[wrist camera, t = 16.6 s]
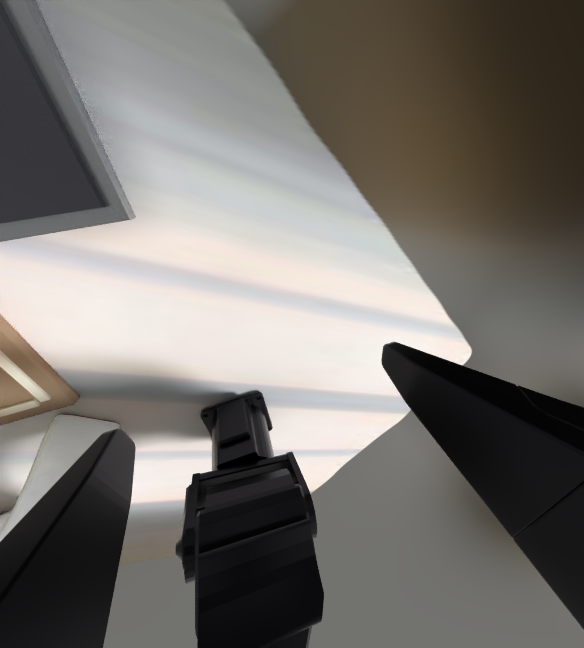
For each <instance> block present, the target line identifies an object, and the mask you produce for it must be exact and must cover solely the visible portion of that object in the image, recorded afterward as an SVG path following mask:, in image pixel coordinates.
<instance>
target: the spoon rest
mask: <svg viewBox="0 0 584 648" xmlns="http://www.w3.org/2000/svg"><path fill="white" fill-rule="evenodd" d="M116 428H120V425H119V424H117V423H114V422H109V421H103V420H97V419H91V418H86V417H80V416H73V415H57V416H55V417H54V419H53V420H52V422H51V424H50V426H49V428H48V430H47V432H46V434H45V436H44V438H43V441H42V443H41V445H40V448H39V450H38V453H37V455H36V458H35V460H34V463H33V465H32V468H31V470H30V473H29V475H28V478H27V480H26V482H25V485H24V487H23V489H22V491H21V493H20V495H19V498H18V500H17V502H16V504H15V506H14V508H13V509H12V510H11V511H8V512H6V513H4V514H2V515H0V541H1V540H2V539H3V538H4V537H5V536H6V535H7V534H8V533H9V532H10V531H11V530H12V529H13V528H14V526H15V525H16V524H17V523H18V522H19V521H20V520H21V519H22V518H23V517H24V516H25V515H26V514H27V513H28V512H29V511H30V510H31V508H32V507H33V506H34V505H35V504H36V503H37V502H38V501H39V500H40V499H41V498H42V497H43V496H44V495H45V494H46V493H47V491H48V490H49V489H50V488H51V487H52V486H53V485H54V484H55V483H56V482H57V481H58V480H59V479H60V478H61V477H62V476H63V474H64V473H65V472H66V471H67V470H68V469H69V468H70V467H71V466H72V465H73V464H74V463H75V462H76V461H77V460H78V459H79V457H80V456H81V455H82V454H83V453H84V452H85V451H86V450H87V449H88V448H89V447H90V446H91V445H92V444H93V443H94V442H95V440H96V439H97V438H98V437H99V436H100V435H101V434H102V433H104V432H106V431H110V430H113V429H116Z"/></svg>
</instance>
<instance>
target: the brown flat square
mask: <svg viewBox="0 0 584 648" xmlns="http://www.w3.org/2000/svg"><path fill="white" fill-rule="evenodd" d="M78 398H79V395H78V394H77V393H76V392H75V391H74V390H73V389H72V388H71V387H70V386H69V385H68V384H67V383H66V382H65V381H64V380H63V379H62V378H61V377H60V376H59V375H58V374H57V373H56V372H55V371H54V369H53V368H52V367H51V366H50V365H49V364H48V363H47V362H46V361H45V360H44V359H43V358H42V357H41V356H40V355H39V354H38V353H37V352H36V351H35V350H34V349H33V348H32V347H31V346H30V345H29V344H28V343H27V342H26V341H25V340H24V339H23V338H22V337H21V335H20V334H19V333H18V332H17V331H16V330H15V329H14V328H13V327H12V326H11V325H10V324H9V323H8V322H7V321H6V320H5V319H4V318H3V317H2V316H1V315H0V425H3V424H7V423H10V422H14V421H17V420H21V419H24V418H28V417H31V416H35V415H38V414H41V413H45V412H48V411H52V410H55V409H59V408H62V407H66V406H69V405H73V404H75V403H76V401H77V400H78Z"/></svg>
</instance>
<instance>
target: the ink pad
mask: <svg viewBox="0 0 584 648" xmlns="http://www.w3.org/2000/svg"><path fill="white" fill-rule="evenodd" d="M133 218H135V215H134V213H133V211H132V208H131V206H130V204H129V202H128V200H127V198H126V195H125V193H124V191H123V189H122V187H121V185H120V183H119V180H118V178H117V176H116V174H115V172H114V170H113V167H112V165H111V163H110V161H109V159H108V157H107V155H106V152H105V150H104V148H103V146H102V144H101V142H100V139H99V137H98V135H97V133H96V131H95V129H94V126H93V124H92V122H91V120H90V118H89V116H88V114H87V111H86V109H85V107H84V105H83V103H82V101H81V98H80V96H79V94H78V92H77V90H76V88H75V86H74V83H73V81H72V79H71V77H70V75H69V73H68V70H67V68H66V66H65V64H64V62H63V60H62V58H61V55H60V53H59V51H58V49H57V47H56V45H55V42H54V40H53V38H52V36H51V34H50V32H49V30H48V27H47V25H46V23H45V21H44V19H43V17H42V14H41V12H40V10H39V8H38V6H37V4H36V1H35V0H0V242H2V241H8V240H14V239H19V238H25V237H31V236H37V235H43V234H49V233H55V232H61V231H66V230H72V229H78V228H84V227H90V226H96V225H102V224H108V223H114V222H119V221H125V220H130V219H133Z"/></svg>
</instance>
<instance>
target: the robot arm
mask: <svg viewBox="0 0 584 648" xmlns="http://www.w3.org/2000/svg"><path fill="white" fill-rule="evenodd" d="M382 366H383V368H384V369H385V371H386V372H387V374H388V376H389V377H390V379H391V380H392V382H393V383H394V385H395V387H396V388H397V390H398V391H399V393H400V395H401V396H402V398H403V399H404V401H405V402H406V403H407V405H408V406H409V407H410V409H411V410H412V411H413V412H414V414H415V415H416V416H417V417H418V419H419V420H420V421H421V423H422V424H423V425H424V426H425V428H426V429H427V430H428V431H429V433H430V434H431V435H432V437H433V438H434V439H435V440H436V442H437V443H438V444H439V445H440V447H441V448H442V449H443V451H444V452H445V453H446V454H447V456H448V457H449V458H450V460H451V461H452V462H453V463H454V465H455V466H456V467H457V468H458V470H459V471H460V472H461V474H462V475H463V476H464V477H465V479H466V480H467V481H468V482H469V483H470V485H471V486H472V487H473V489H474V490H475V491H476V493H477V494H478V495H479V496H480V498H481V499H482V500H483V502H484V503H485V504H486V505H487V507H488V508H489V509H490V510H491V512H492V513H493V514H494V516H495V517H496V518H497V519H498V521H499V522H500V523H501V524H502V526H503V527H504V528H505V530H506V531H507V532H508V533H509V535H510V536H511V537H512V538H513V540H514V541H515V543H516V544H517V545H518V546H519V548H520V549H521V550H522V551H523V553H524V554H525V555H526V557H527V558H528V559H529V560H530V562H531V563H532V564H533V566H534V567H535V568H536V569H537V570H538V572H539V573H540V574H541V576H542V577H543V578H544V579H545V581H546V582H547V583H548V584H549V586H550V587H551V588H552V590H553V591H554V592H555V594H556V595H557V596H558V597H559V599H560V600H561V601H562V602H563V604H564V605H565V606H566V608H567V609H568V610H569V611H570V613H571V614H572V615H573V616H574V618H575V619H576V620H577V621H578V623H579V624H580V625H581V627H582V628H583V629H584V407H581V406H578V405H575V404H571V403H568V402H565V401H561V400H559V399H556V398H553V397H550V396H547V395H544V394H541V393H538V392H535V391H533V390H530V389H527V388H524V387H521V386H516V385H515V384H513V383H510V382H507V381H504V380H501V379H499V378H496V377H493V376H490V375H487V374H484V373H482V372H479V371H476V370H473V369H470V368H467V367H465V366H462V365H459V364H456V363H454V362H451V361H448V360H445V359H442V358H439V357H437V356H434V355H431V354H428V353H425V352H423V351H420V350H417V349H414V348H411V347H408V346H406V345H403V344H400V343H397V342H391V343H388V344H385V345H384V346H383V352H382ZM201 418H202V420H203V422H204V424H205V425H206V427H207V429H208V431H209V432H210V434H211V436H212V471H210V472H206V473H202V474H200V473H196V474H193V477H192V484H191V485H189V487H188V488H186V499H185V508H184V514H183V518H182V522H181V527H180V531H179V535H178V539H177V543H176V555H177V556H178V557H179V558H180V559H181V560H182V564H183V569H184V575H185V582H186V584H189V583H192V582H194V581H195V630H196V636H197V639H198V648H308V645H309V639H310V634H311V628H312V626H313V625H315V624H317V623H319V622H321V619H322V613H323V600H324V592H323V587H322V583H321V579H320V574H319V570H318V566H317V560H316V554H315V549H314V542H313V539H314V538H316V535H317V523H316V515H315V510H314V506H313V501H312V498H311V495H310V492H309V489H308V487H307V484H306V482H305V480H304V478H303V475H302V473H301V471H300V468H299V466H298V464H297V462H296V459H295V457H294V455H293V452H288V453H286V454H284V455H280V456H275V457H274V454H273V449H272V445H271V440H270V436H269V431H270V430H272V424H271V420H270V417H269V414H268V411H267V407H266V404H265V401H264V397H263V394H262V393H261V392H258V393H254V394H251V395H248V396H245V397H242V398H239V399H235V400H232V401H229V402H226V403H223V404H220V405H217V406H214V407H210V408H207V409H204V410H202V411H201ZM134 460H135V444H134V442H133V441H132V440H131V438H130V437H129V436H128V435H127V434H126V433H125V432H124V431H123V430H122V429H120V428H116V429H113V430H110V431H106V432H104V433H102V434H101V435H100V436H99V437H98V438H97V439H96V440H95V442H94V443H93V444H92V445H91V446H90V447H89V448H88V449H87V450H86V451H85V452H84V453H83V454H82V455H81V456H80V457H79V459H78V460H77V461H76V462H75V463H74V464H73V465H72V466H71V467H70V468H69V469H68V470H67V471H66V472H65V473H64V474H63V476H62V477H61V478H60V479H59V480H58V481H57V482H56V483H55V484H54V485H53V486H52V487H51V488H50V489H49V490H48V491H47V493H46V494H45V495H44V496H43V497H42V498H41V499H40V500H39V501H38V502H37V503H36V504H35V505H34V506H33V507H32V508H31V510H30V511H29V512H28V513H27V514H26V515H25V516H24V517H23V518H22V519H21V520H20V521H19V522H18V523H17V524H16V525H15V526H14V528H13V529H12V530H11V531H10V532H9V533H8V534H7V535H6V536H5V537H4V538H3V539H2V540H1V541H0V648H103V644H104V638H105V634H106V628H107V623H108V617H109V613H110V607H111V602H112V597H113V592H114V587H115V581H116V577H117V571H118V566H119V561H120V556H121V551H122V546H123V540H124V535H125V530H126V525H127V520H128V514H129V509H130V503H131V495H132V483H133V472H134Z"/></svg>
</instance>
